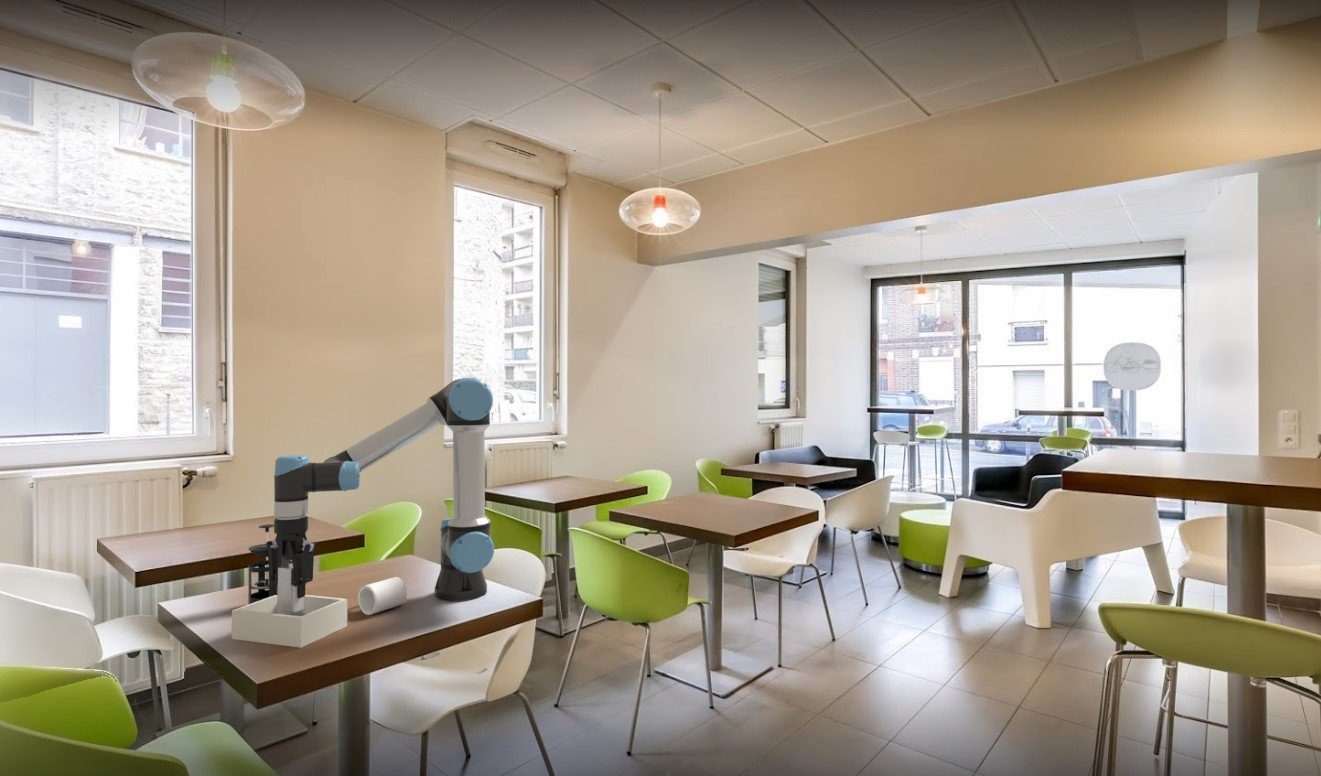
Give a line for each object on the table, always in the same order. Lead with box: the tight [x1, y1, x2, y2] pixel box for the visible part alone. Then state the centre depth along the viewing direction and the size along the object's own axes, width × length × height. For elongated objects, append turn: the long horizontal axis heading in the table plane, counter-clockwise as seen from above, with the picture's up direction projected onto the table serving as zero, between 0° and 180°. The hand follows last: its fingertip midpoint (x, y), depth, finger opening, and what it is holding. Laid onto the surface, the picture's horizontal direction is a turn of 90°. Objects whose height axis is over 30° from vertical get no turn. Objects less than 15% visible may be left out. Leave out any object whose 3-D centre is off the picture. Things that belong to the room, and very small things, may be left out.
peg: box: [278, 564, 303, 616], centre depth 165 cm, size 4×4×14 cm
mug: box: [357, 576, 408, 616], centre depth 184 cm, size 12×10×8 cm
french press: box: [247, 523, 292, 605], centre depth 187 cm, size 12×9×23 cm
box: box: [231, 594, 348, 649], centre depth 165 cm, size 21×15×7 cm
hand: (290, 609), depth 165 cm, fingers closed on peg, 4 cm apart
